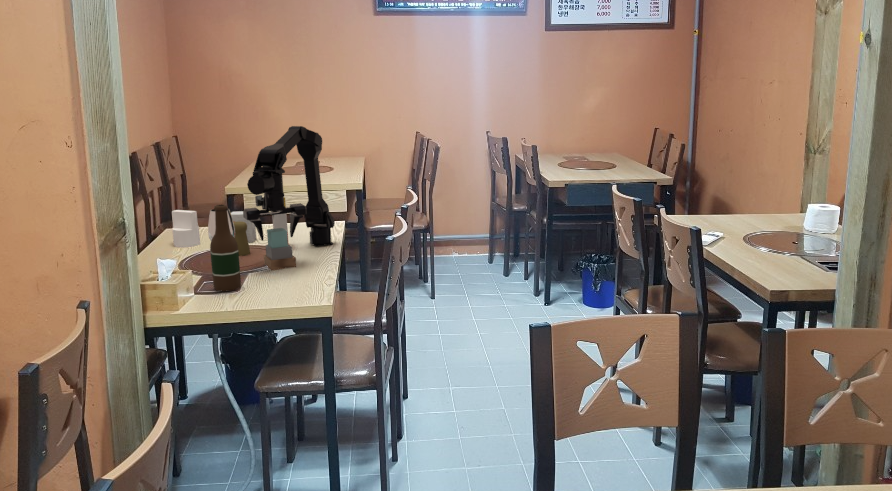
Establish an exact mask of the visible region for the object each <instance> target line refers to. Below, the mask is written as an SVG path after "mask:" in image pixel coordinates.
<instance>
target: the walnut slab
mask: <svg viewBox="0 0 892 491" xmlns="http://www.w3.org/2000/svg"><path fill="white" fill-rule="evenodd" d="M292 256H293V258H285V259H278V260H271V259H270V258H268V257H267V256H266V254H264V255H263V261H264V262H263V263H264V264H265V265H267V266H268V267H267V266H266V267H267V268H268V270H270V271H277V270H284V269H293V268H297V258H296V256H294V254H292ZM264 264H263V265H264Z"/></svg>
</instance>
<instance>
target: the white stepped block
mask: <svg viewBox="0 0 892 491" xmlns="http://www.w3.org/2000/svg"><path fill="white" fill-rule="evenodd" d="M197 213H198V211H197V210H188V209H187V210H185V209H184V210H183V209H174V210H172V211H171V218H172V220H171V221H172V228H171V230H172V243H173V246H174V247H175V248H191V247H195V246H199V245H201V237H200V236H201V234H200V226H199V224H198V223H199V222H198V214H197Z"/></svg>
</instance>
